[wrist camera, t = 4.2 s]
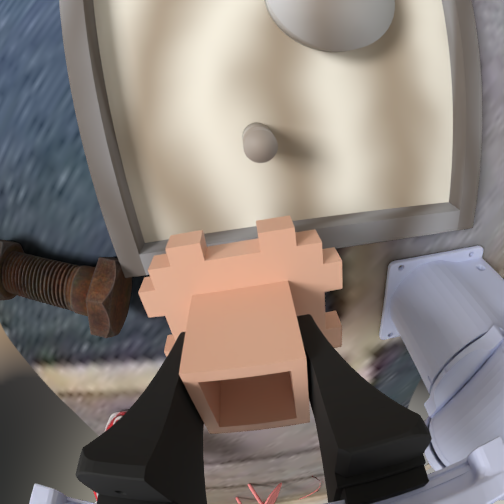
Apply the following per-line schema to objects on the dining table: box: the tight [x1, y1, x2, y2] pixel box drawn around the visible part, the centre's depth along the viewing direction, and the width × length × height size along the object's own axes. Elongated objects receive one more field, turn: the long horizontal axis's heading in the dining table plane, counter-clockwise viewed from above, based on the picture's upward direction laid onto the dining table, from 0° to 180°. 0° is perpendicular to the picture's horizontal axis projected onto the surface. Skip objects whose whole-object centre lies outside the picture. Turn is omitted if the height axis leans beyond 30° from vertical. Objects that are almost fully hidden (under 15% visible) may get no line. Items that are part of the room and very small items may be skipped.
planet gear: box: [138, 215, 342, 434], centre depth 13 cm, size 9×9×6 cm
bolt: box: [0, 240, 132, 338], centre depth 20 cm, size 6×5×15 cm
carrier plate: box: [59, 0, 482, 278], centre depth 14 cm, size 24×24×4 cm
